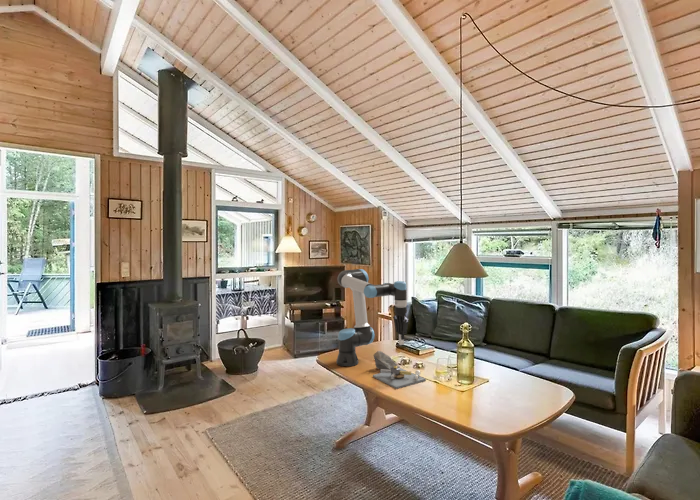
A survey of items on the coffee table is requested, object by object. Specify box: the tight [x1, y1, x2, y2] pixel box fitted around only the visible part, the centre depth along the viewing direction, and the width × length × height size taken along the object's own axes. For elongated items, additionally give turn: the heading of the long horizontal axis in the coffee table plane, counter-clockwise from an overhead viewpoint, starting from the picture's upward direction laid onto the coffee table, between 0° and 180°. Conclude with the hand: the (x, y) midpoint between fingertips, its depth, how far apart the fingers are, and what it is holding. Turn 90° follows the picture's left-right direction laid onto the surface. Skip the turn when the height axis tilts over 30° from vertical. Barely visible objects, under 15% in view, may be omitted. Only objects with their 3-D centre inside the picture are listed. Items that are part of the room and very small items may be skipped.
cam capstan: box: [379, 365, 412, 379], centre depth 237 cm, size 19×19×6 cm
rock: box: [373, 350, 398, 371], centre depth 255 cm, size 12×8×15 cm, turn 38°
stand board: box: [372, 367, 427, 390], centre depth 237 cm, size 24×22×6 cm
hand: (401, 344), depth 240 cm, fingers closed
